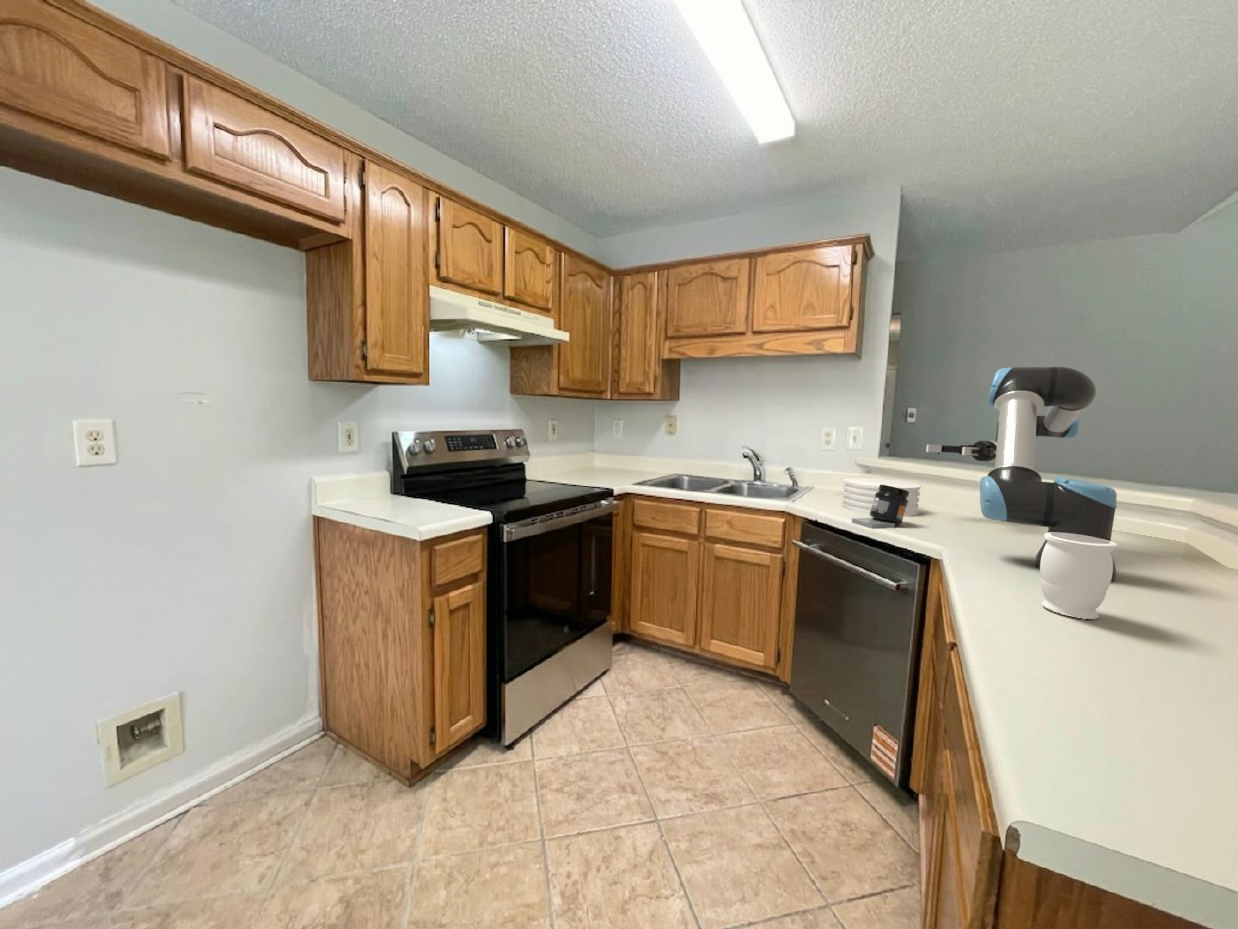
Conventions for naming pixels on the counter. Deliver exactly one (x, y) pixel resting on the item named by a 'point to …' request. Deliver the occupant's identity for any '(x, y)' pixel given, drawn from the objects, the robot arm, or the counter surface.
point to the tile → (873, 523)
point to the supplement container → (889, 504)
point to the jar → (1075, 573)
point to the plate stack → (864, 490)
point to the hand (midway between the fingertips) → (944, 449)
